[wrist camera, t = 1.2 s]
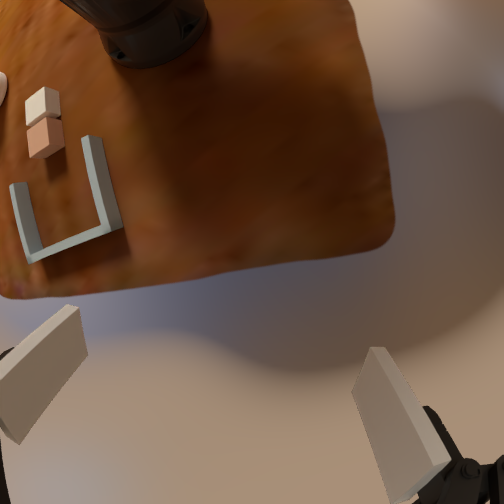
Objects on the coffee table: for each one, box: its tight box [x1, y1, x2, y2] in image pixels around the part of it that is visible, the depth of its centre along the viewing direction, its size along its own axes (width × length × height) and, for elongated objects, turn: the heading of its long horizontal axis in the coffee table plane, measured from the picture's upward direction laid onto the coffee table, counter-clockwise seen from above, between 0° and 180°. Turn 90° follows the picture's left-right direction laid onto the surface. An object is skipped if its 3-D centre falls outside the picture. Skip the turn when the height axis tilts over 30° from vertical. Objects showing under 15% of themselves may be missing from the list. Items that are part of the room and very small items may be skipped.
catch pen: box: [9, 135, 123, 264], centre depth 32 cm, size 13×18×4 cm
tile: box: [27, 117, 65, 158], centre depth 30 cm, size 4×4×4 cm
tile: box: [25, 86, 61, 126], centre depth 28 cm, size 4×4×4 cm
